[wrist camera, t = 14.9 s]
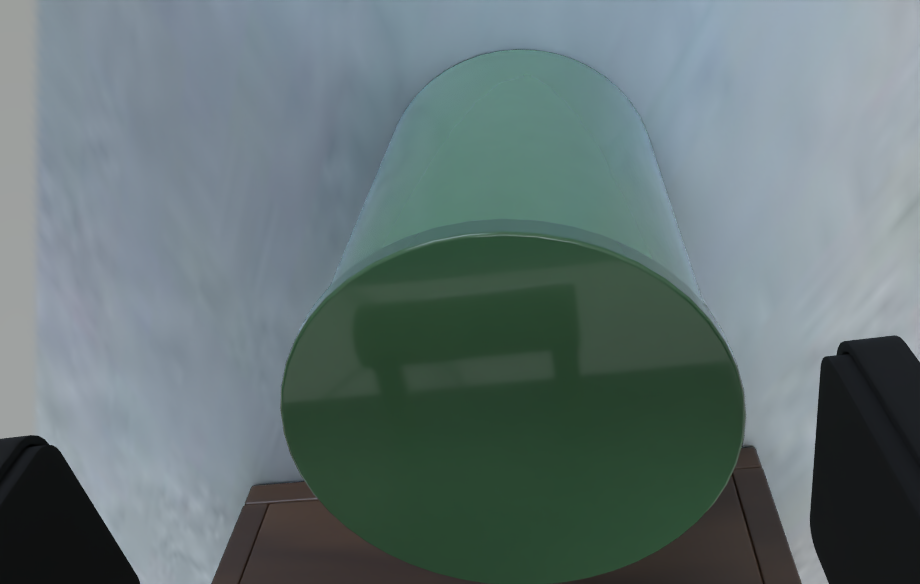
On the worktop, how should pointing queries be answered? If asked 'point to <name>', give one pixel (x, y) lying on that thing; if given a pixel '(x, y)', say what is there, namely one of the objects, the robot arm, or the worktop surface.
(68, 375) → the worktop surface
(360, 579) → the chest
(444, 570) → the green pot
